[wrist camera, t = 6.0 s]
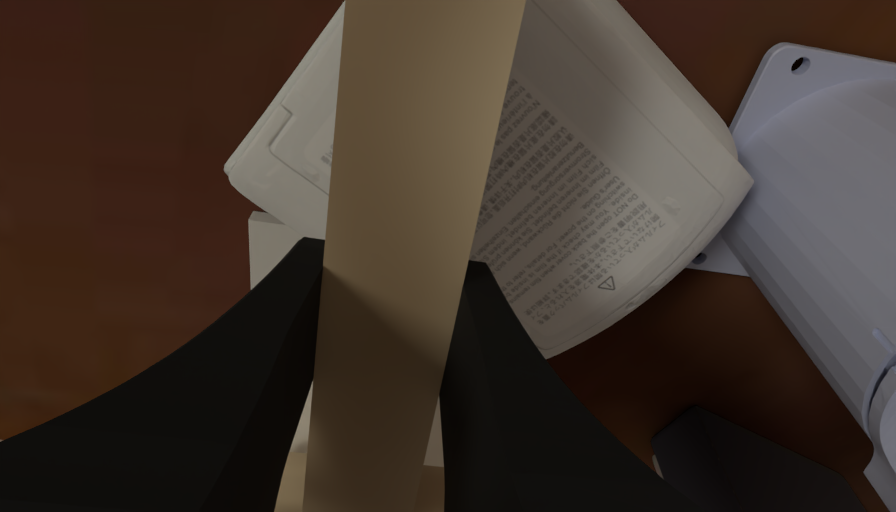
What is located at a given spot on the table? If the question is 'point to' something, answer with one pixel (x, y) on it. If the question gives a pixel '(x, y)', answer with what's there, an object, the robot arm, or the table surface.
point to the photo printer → (544, 167)
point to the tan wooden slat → (398, 244)
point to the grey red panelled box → (744, 470)
